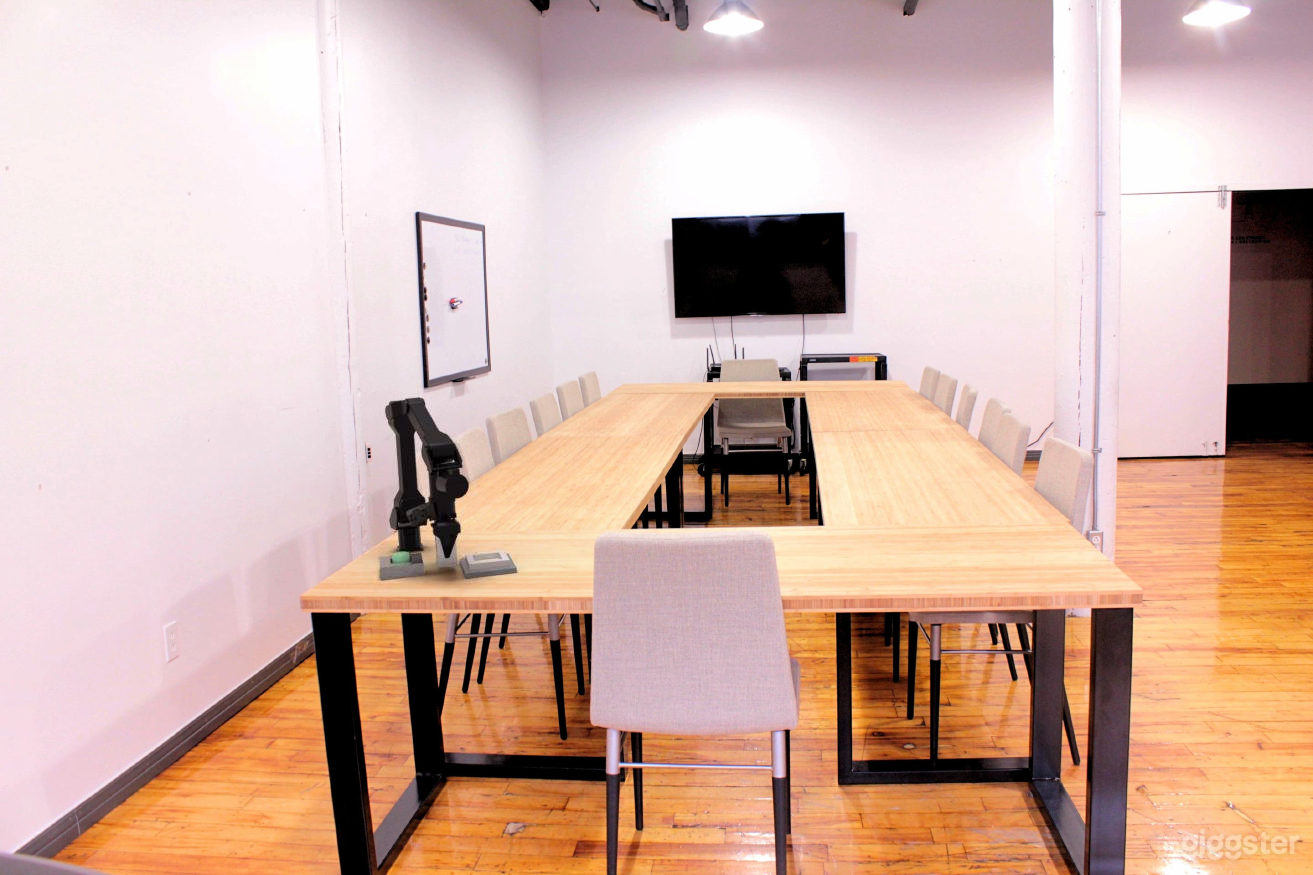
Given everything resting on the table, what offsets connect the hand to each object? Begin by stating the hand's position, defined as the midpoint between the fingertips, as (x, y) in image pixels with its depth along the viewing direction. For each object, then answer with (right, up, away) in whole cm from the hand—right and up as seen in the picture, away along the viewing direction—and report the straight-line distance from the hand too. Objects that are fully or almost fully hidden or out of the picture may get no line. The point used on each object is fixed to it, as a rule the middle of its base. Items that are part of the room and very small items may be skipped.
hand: (446, 555), depth 237 cm
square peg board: (-11, -4, +1) cm, 12 cm away
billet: (0, -2, 0) cm, 2 cm away
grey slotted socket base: (+10, -3, +2) cm, 10 cm away
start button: (-11, -4, +1) cm, 12 cm away
